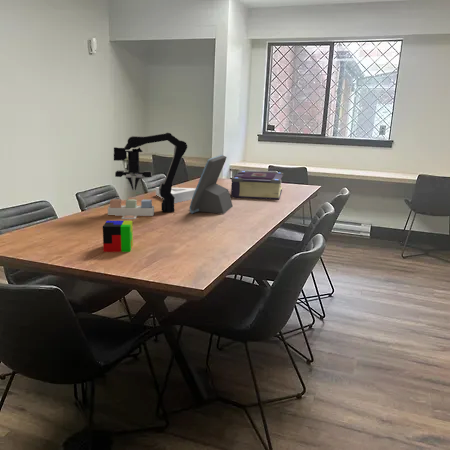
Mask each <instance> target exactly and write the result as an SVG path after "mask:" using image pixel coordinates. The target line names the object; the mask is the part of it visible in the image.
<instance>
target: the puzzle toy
mask: <svg viewBox="0 0 450 450" xmlns="http://www.w3.org/2000/svg"><path fill="white" fill-rule="evenodd" d="M133 224H134V223H133V220H106V221H105V222H104V224H103V225H102V242H103V243H102V244H103V248H102V249H103V252H104V253H105V252H106V253H107V252H108V253H109V252H110V253H111V252H113V253H117V252H118V253H119V252H120V253H121V252H122V253H123V252H125V253H128V252H131V251H132V248H133V246H134V237H133V236H134V234H133V230H134V228H133Z"/></svg>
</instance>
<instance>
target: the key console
mask: <svg viewBox="0 0 450 450" xmlns="http://www.w3.org/2000/svg"><path fill="white" fill-rule="evenodd" d="M108 215H115V217H116V216H118V217H119V216H121V217H123V216H137V217H140V216H141V217H153V216H154V215H155V205H152V208H141V205H137V207H136V208H126V205H123V204H121V208H110V205H109V206H107V216H108Z"/></svg>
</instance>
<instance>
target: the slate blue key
mask: <svg viewBox="0 0 450 450" xmlns="http://www.w3.org/2000/svg"><path fill="white" fill-rule="evenodd" d="M140 206H141V208H152V206H153V199H142V200H141V201H140Z"/></svg>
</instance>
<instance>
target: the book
mask: <svg viewBox="0 0 450 450" xmlns="http://www.w3.org/2000/svg"><path fill="white" fill-rule="evenodd" d="M283 177H284V172H268V171H267V172H263V171H262V172H261V171H248V170H246V171H245V170H240V171H238V172H237V173H236V174H235V175H234V176H233V177H232V178H231V188H230V190H231V191H230V195H231V198H235V199H237V198H238V199H252V200H253V199H254V200H255V199H258V200H277V201H280V200H281V195H282V192H283V187H282V179H283Z"/></svg>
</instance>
